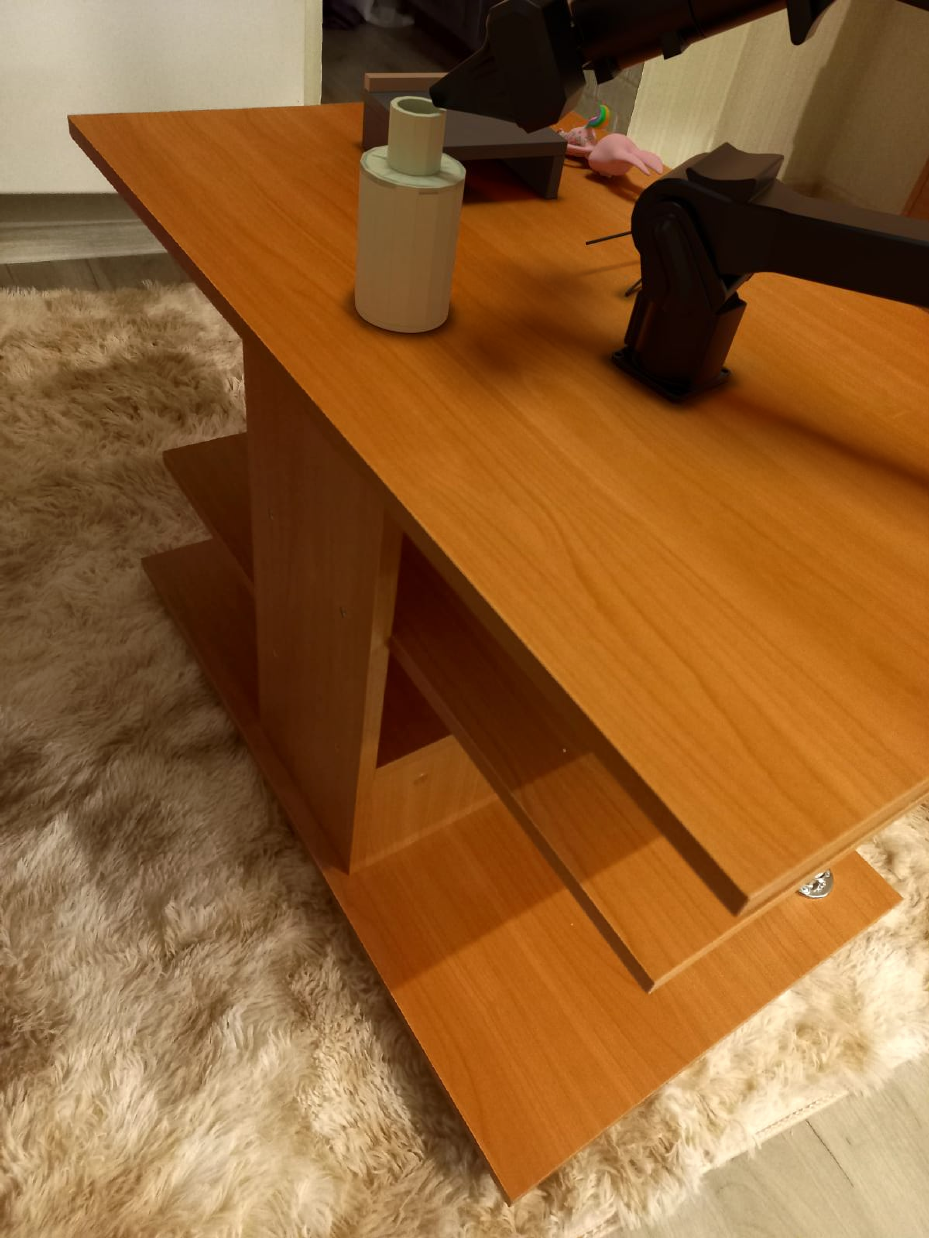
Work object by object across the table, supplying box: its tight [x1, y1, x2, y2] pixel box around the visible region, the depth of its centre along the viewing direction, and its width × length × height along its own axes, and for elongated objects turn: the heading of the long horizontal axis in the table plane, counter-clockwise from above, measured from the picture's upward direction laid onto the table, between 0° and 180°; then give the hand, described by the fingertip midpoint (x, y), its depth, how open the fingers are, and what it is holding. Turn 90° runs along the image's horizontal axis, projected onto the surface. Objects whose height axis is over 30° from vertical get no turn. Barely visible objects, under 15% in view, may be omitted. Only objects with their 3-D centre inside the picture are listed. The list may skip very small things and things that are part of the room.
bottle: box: [354, 96, 467, 334], centre depth 59 cm, size 7×7×14 cm
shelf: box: [361, 72, 568, 200], centre depth 80 cm, size 14×14×6 cm
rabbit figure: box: [553, 104, 664, 179], centre depth 85 cm, size 6×6×15 cm
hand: (462, 77), depth 57 cm, fingers open, 9 cm apart
